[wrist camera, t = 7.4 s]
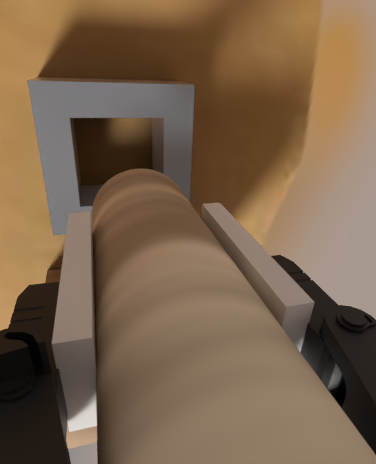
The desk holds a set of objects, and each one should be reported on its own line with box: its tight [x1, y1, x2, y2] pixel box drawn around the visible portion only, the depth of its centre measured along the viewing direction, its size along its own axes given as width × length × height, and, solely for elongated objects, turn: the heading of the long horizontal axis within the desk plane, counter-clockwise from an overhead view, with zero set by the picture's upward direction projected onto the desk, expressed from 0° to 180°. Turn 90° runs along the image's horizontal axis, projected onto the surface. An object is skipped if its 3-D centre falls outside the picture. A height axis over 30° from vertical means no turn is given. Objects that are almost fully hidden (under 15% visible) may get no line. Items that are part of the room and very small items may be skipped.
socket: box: [28, 77, 195, 235], centre depth 24 cm, size 10×10×4 cm
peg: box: [92, 169, 376, 464], centre depth 9 cm, size 4×4×14 cm
